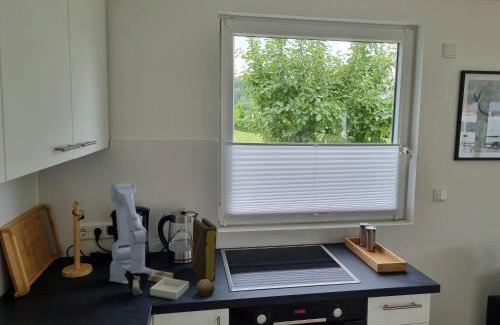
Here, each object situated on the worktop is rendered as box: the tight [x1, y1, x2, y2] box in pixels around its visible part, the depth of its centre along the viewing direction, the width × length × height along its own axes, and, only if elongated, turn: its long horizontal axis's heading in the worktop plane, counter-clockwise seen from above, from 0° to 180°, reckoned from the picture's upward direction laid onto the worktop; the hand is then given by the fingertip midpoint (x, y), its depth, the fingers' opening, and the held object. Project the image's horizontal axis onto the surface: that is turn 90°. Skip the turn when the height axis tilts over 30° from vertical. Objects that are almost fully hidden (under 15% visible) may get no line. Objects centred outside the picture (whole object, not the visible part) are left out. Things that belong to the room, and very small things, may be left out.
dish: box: [149, 278, 190, 301], centre depth 161 cm, size 12×12×3 cm
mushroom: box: [196, 279, 215, 297], centre depth 160 cm, size 8×8×6 cm
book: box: [189, 217, 218, 283], centre depth 181 cm, size 22×8×25 cm, turn 25°
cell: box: [132, 275, 143, 296], centre depth 158 cm, size 4×4×7 cm
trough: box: [148, 269, 174, 283], centre depth 173 cm, size 12×6×2 cm, turn 74°
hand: (137, 289), depth 158 cm, fingers open, 5 cm apart
